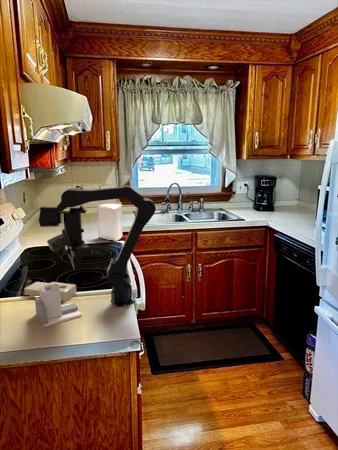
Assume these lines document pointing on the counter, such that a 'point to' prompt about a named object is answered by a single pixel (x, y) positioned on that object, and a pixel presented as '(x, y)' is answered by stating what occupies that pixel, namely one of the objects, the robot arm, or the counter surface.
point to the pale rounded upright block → (109, 221)
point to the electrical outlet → (65, 289)
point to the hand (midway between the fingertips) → (75, 270)
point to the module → (51, 300)
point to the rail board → (67, 313)
